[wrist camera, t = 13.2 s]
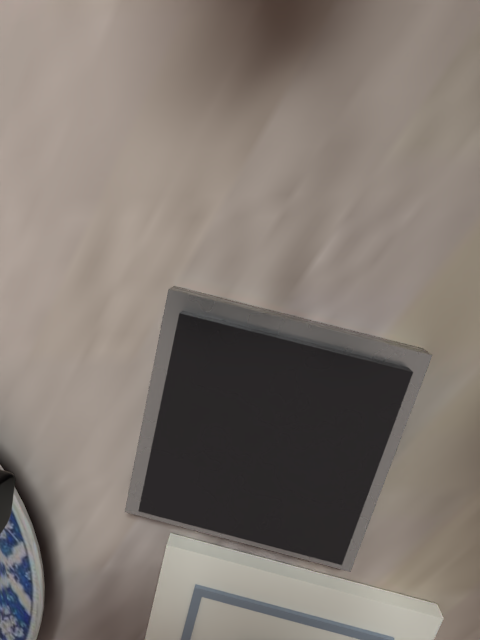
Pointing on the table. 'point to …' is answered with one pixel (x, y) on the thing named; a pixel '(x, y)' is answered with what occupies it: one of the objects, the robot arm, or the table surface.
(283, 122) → the table surface
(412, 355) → the ink pad
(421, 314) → the table surface
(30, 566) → the ceramic plate
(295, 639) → the white flat square panel
